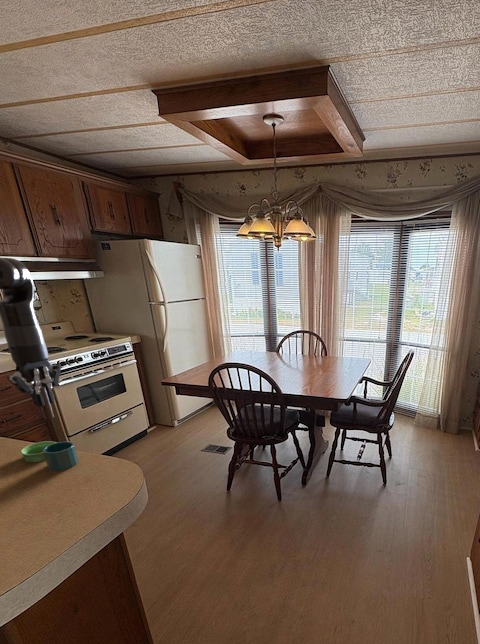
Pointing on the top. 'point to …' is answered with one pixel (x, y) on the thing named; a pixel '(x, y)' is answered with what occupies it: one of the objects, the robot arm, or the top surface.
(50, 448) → the cup
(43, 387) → the brown cylinder rod
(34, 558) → the top surface
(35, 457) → the ramekin
